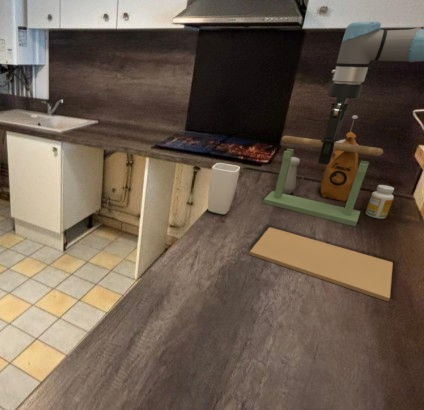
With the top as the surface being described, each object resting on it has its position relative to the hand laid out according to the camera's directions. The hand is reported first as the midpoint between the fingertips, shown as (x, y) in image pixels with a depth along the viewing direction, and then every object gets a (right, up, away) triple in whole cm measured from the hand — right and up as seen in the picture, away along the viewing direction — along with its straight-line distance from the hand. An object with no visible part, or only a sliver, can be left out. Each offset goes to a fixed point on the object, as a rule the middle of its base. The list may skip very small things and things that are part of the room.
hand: (323, 162), depth 111 cm
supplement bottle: (+18, -17, +3) cm, 25 cm away
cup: (-31, -15, +4) cm, 35 cm away
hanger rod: (0, +5, -2) cm, 6 cm away
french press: (+31, -1, +39) cm, 50 cm away
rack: (0, -15, +7) cm, 16 cm away
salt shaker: (0, -9, +21) cm, 23 cm away
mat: (-16, -27, -22) cm, 38 cm away
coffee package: (+16, -10, +19) cm, 27 cm away
